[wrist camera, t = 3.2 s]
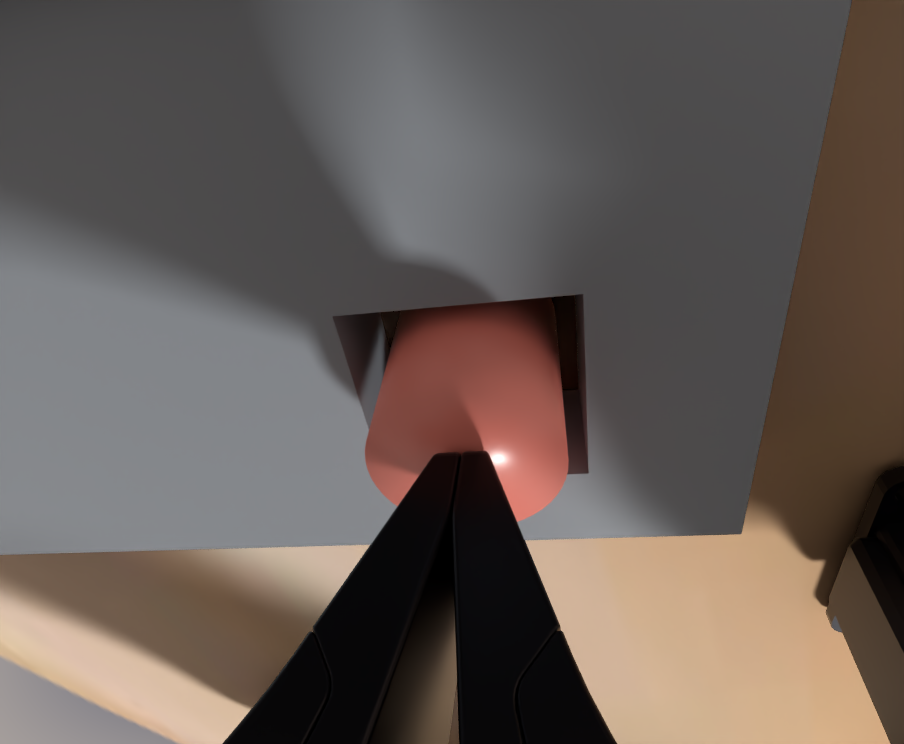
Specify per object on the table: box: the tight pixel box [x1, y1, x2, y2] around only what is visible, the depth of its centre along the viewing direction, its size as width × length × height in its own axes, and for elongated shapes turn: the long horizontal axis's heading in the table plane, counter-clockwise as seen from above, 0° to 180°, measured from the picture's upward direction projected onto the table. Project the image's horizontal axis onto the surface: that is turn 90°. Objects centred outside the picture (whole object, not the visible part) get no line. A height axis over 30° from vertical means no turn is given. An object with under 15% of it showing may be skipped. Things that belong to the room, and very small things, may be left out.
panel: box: [0, 0, 852, 555], centre depth 10 cm, size 22×16×4 cm
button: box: [365, 297, 569, 522], centre depth 11 cm, size 3×3×4 cm
